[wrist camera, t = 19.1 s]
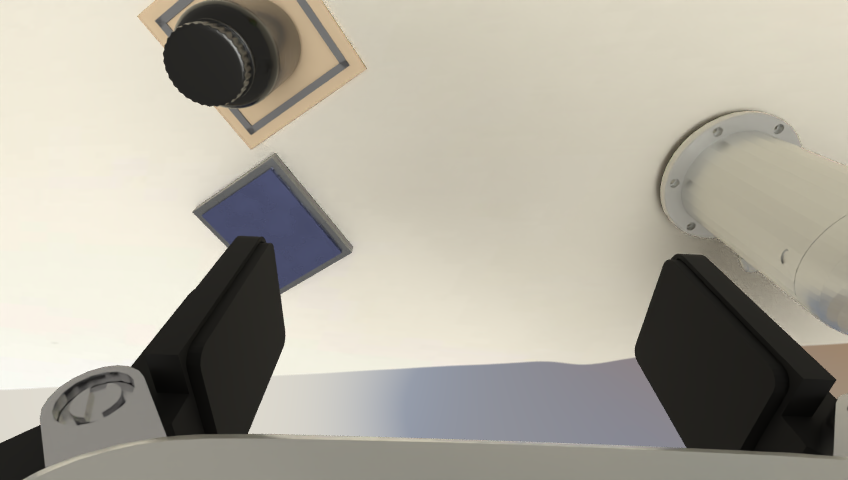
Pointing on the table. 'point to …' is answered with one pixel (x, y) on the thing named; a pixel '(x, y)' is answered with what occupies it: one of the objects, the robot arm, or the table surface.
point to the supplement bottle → (231, 52)
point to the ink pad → (276, 221)
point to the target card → (310, 82)
